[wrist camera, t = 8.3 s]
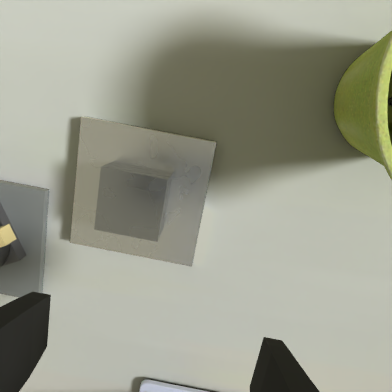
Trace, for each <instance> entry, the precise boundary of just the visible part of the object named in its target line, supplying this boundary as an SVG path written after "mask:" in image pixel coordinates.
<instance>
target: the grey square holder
mask: <svg viewBox="0 0 392 392" xmlns="http://www.w3.org/2000/svg"><path fill="white" fill-rule="evenodd" d="M215 148H216V141H211V140H205V139H200V138H195V137H190V136H185V135H179V134H174V133H169V132H164V131H159V130H153V129H148V128H143V127H138V126H132V125H127V124H122V123H117V122H112V121H106V120H101V119H96V118H91V117H81V123H80V134H79V145H78V157H77V168H76V180H75V191H74V203H73V214H72V226H71V237H70V243H75V244H80V245H85V246H90V247H95V248H100V249H105V250H111V251H116V252H121V253H126V254H131V255H136V256H141V257H146V258H151V259H157V260H162V261H167V262H172V263H177V264H182V265H187V266H192V263H193V258H194V253H195V248H196V243H197V238H198V233H199V228H200V223H201V218H202V213H203V208H204V203H205V198H206V193H207V188H208V183H209V178H210V173H211V168H212V163H213V158H214V153H215Z"/></svg>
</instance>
